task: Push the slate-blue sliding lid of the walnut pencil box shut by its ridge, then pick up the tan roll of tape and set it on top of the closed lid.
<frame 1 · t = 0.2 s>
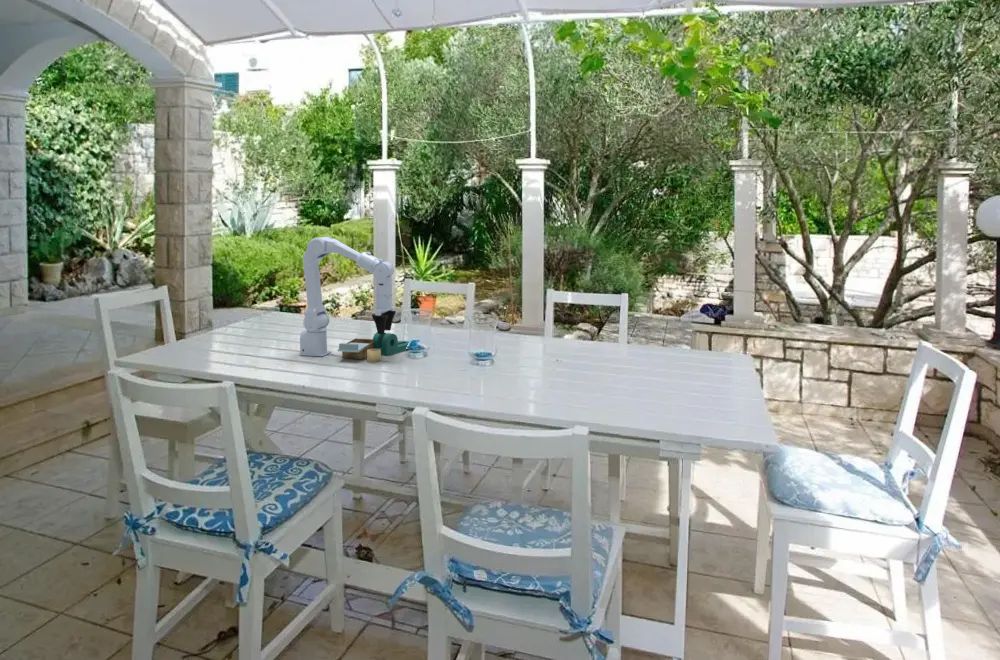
hand: (384, 332, 272), 10 cm above the table, fingers open, 7 cm apart
tape roll: (374, 360, 271), on the table
bracket: (394, 351, 288), on the table, touching pencil box
lid: (354, 344, 273), point 5 cm above the table, slide at 6.0 cm
pencil box: (360, 354, 280), on the table
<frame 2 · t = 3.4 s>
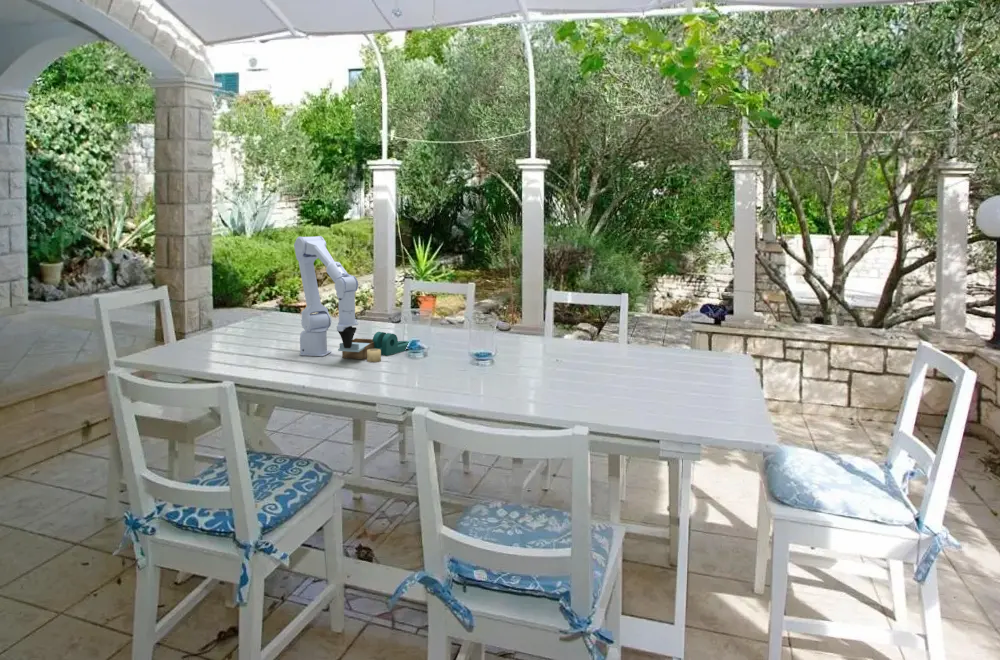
hand: (347, 347, 266), 5 cm above the table, fingers closed
lid: (354, 344, 273), point 5 cm above the table, slide at 5.5 cm, touching gripper
everything else where it was.
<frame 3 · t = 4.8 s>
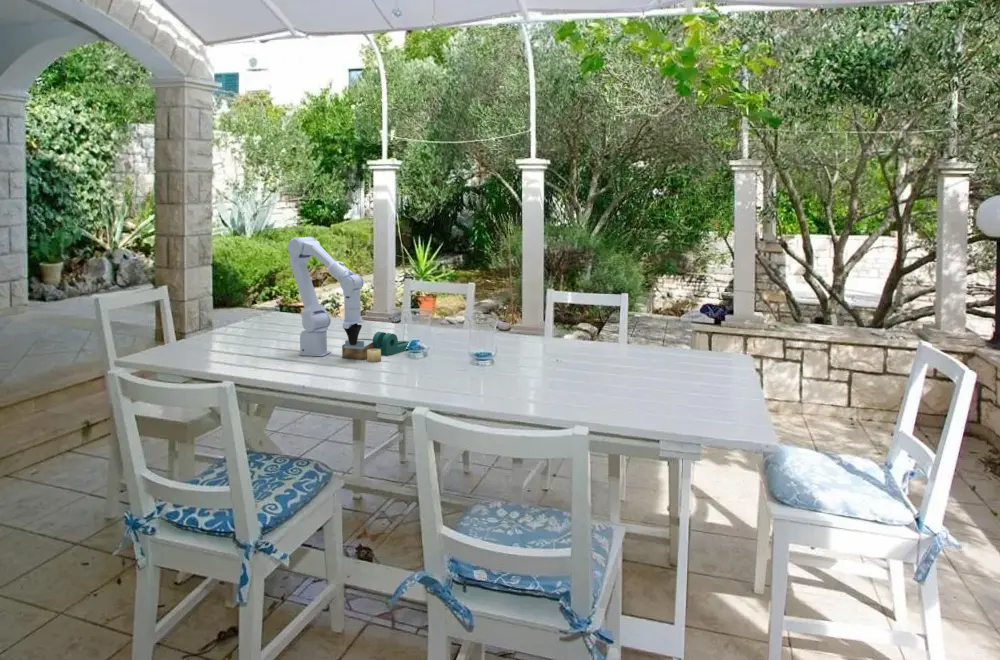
hand: (353, 344, 271), 5 cm above the table, fingers closed
lid: (360, 341, 278), point 5 cm above the table, slide at 0.0 cm, touching gripper
everything else where it was.
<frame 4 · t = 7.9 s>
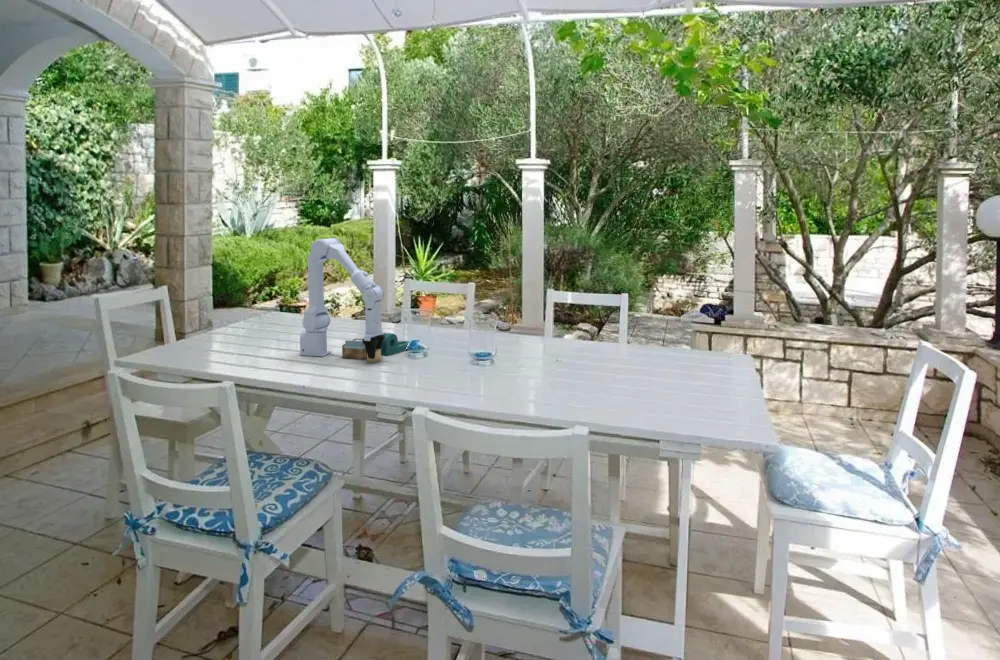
hand: (374, 356, 271), 1 cm above the table, fingers closed on tape roll, 5 cm apart
tape roll: (374, 360, 271), on the table, touching gripper
lid: (360, 341, 278), point 5 cm above the table, slide at 0.0 cm
everything else where it was.
when the fingers open (7 cm above the table, at t = 10.6 s): tape roll drops 1 cm, resting on lid.
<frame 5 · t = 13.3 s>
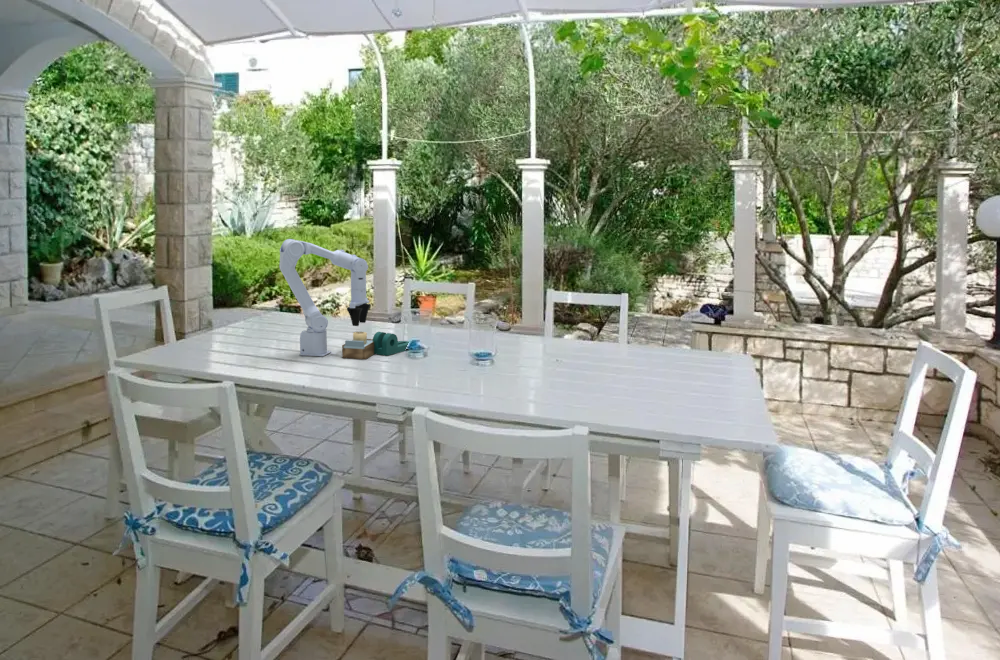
hand: (359, 324, 285), 10 cm above the table, fingers open, 7 cm apart
tape roll: (359, 343, 278), point 5 cm above the table, touching lid
lid: (360, 341, 278), point 5 cm above the table, slide at 0.0 cm, touching tape roll
everything else where it was.
at the end: lid slide at 0.0 cm; tape roll inside the target area (1.2 cm from its centre), point 4.6 cm above the table; tape roll tilted 2° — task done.
